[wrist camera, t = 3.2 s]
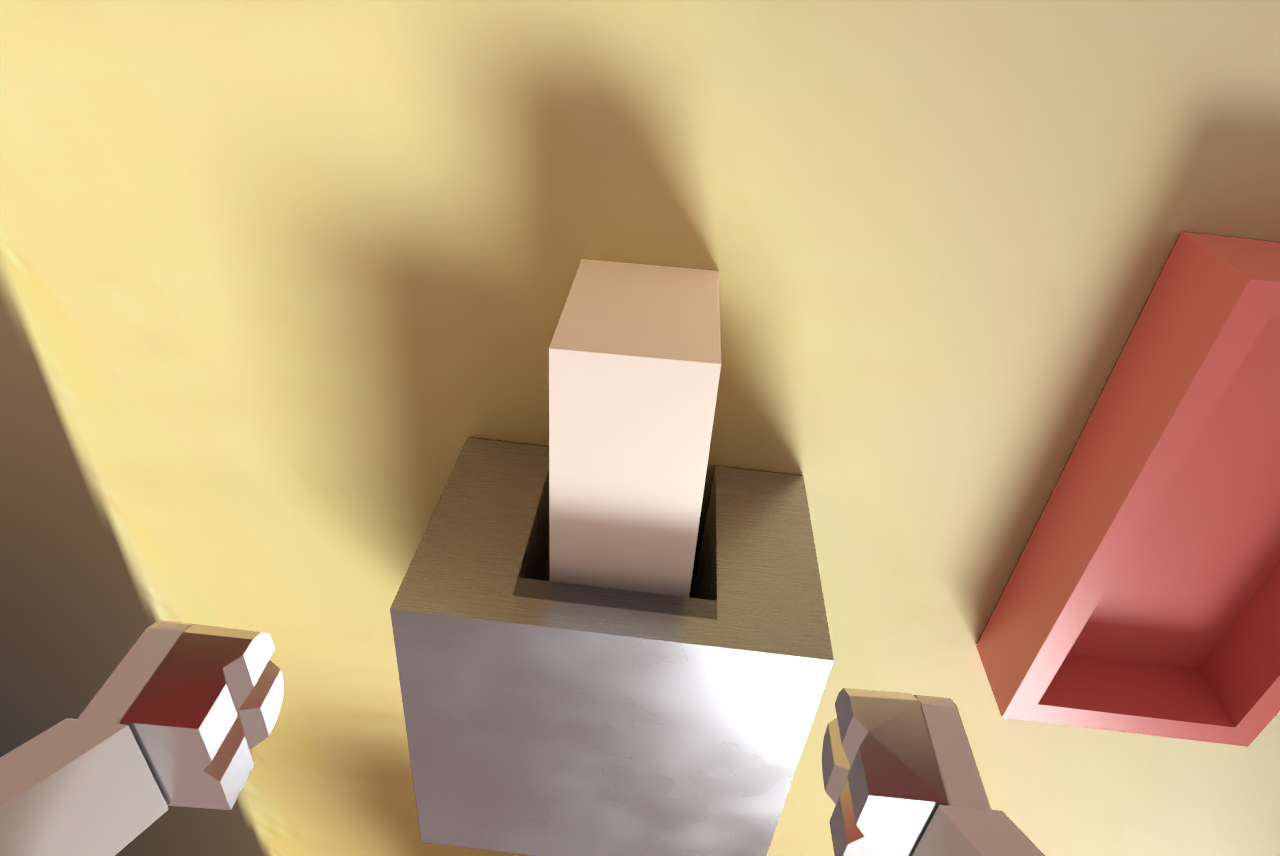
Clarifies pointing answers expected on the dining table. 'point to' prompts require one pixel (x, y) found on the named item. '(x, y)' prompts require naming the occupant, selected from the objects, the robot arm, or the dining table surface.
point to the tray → (1163, 524)
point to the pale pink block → (631, 424)
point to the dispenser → (606, 674)
